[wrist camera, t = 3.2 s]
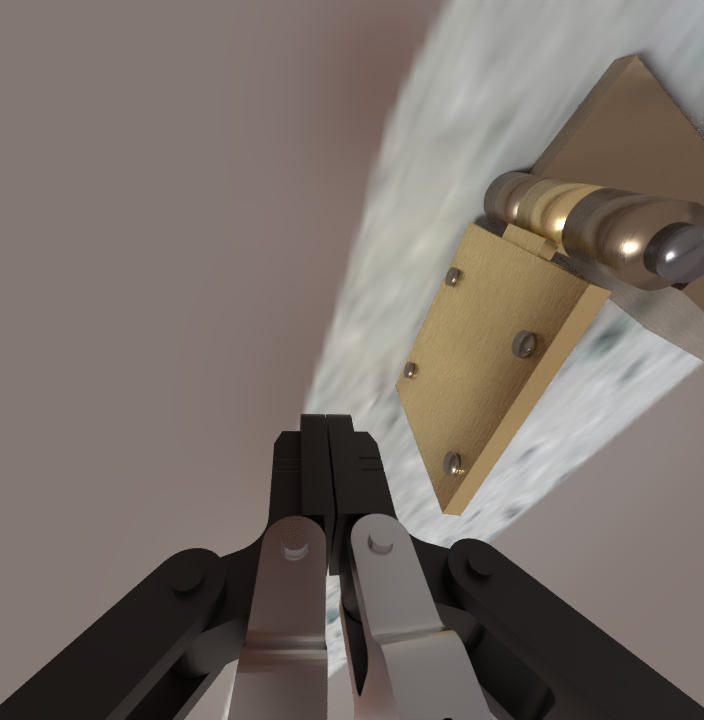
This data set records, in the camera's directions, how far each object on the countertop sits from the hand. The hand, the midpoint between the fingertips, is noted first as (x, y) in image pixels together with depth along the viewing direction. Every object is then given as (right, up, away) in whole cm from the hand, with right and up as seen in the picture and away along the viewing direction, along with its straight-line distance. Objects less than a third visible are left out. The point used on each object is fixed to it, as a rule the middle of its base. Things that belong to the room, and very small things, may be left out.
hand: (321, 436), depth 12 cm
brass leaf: (+7, +6, +9) cm, 12 cm away
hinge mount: (+15, +10, +8) cm, 19 cm away
